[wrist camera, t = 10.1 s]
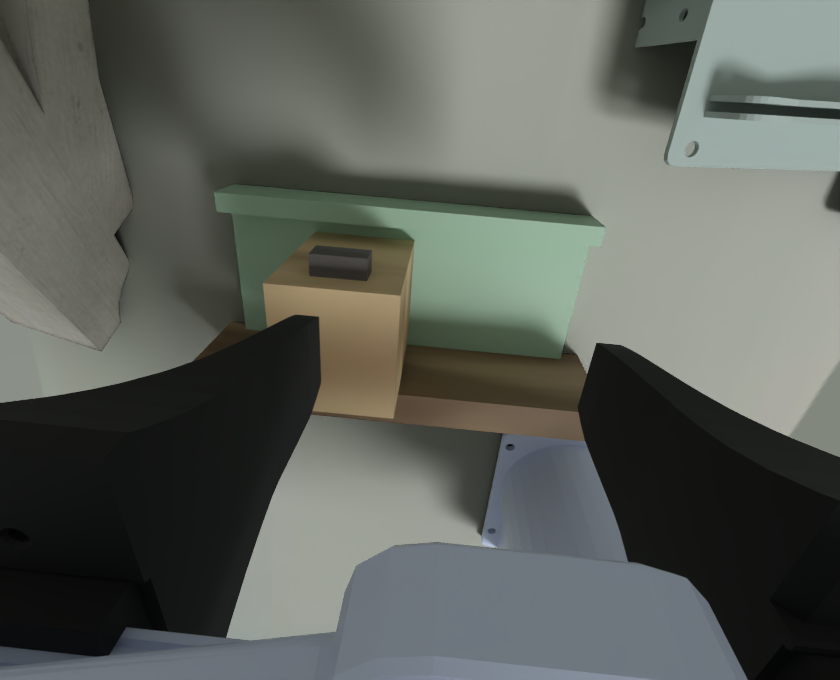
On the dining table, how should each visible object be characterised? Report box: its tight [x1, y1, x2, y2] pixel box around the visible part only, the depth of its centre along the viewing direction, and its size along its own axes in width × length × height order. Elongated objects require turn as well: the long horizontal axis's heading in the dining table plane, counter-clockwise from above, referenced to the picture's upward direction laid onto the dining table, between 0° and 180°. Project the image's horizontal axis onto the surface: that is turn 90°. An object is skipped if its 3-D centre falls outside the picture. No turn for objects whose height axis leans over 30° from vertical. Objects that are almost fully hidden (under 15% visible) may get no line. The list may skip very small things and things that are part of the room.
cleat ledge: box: [214, 184, 606, 359], centre depth 21 cm, size 7×16×2 cm, turn 86°
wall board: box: [194, 322, 587, 441], centre depth 22 cm, size 2×18×5 cm, turn 85°
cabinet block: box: [263, 232, 415, 419], centre depth 19 cm, size 6×4×6 cm
